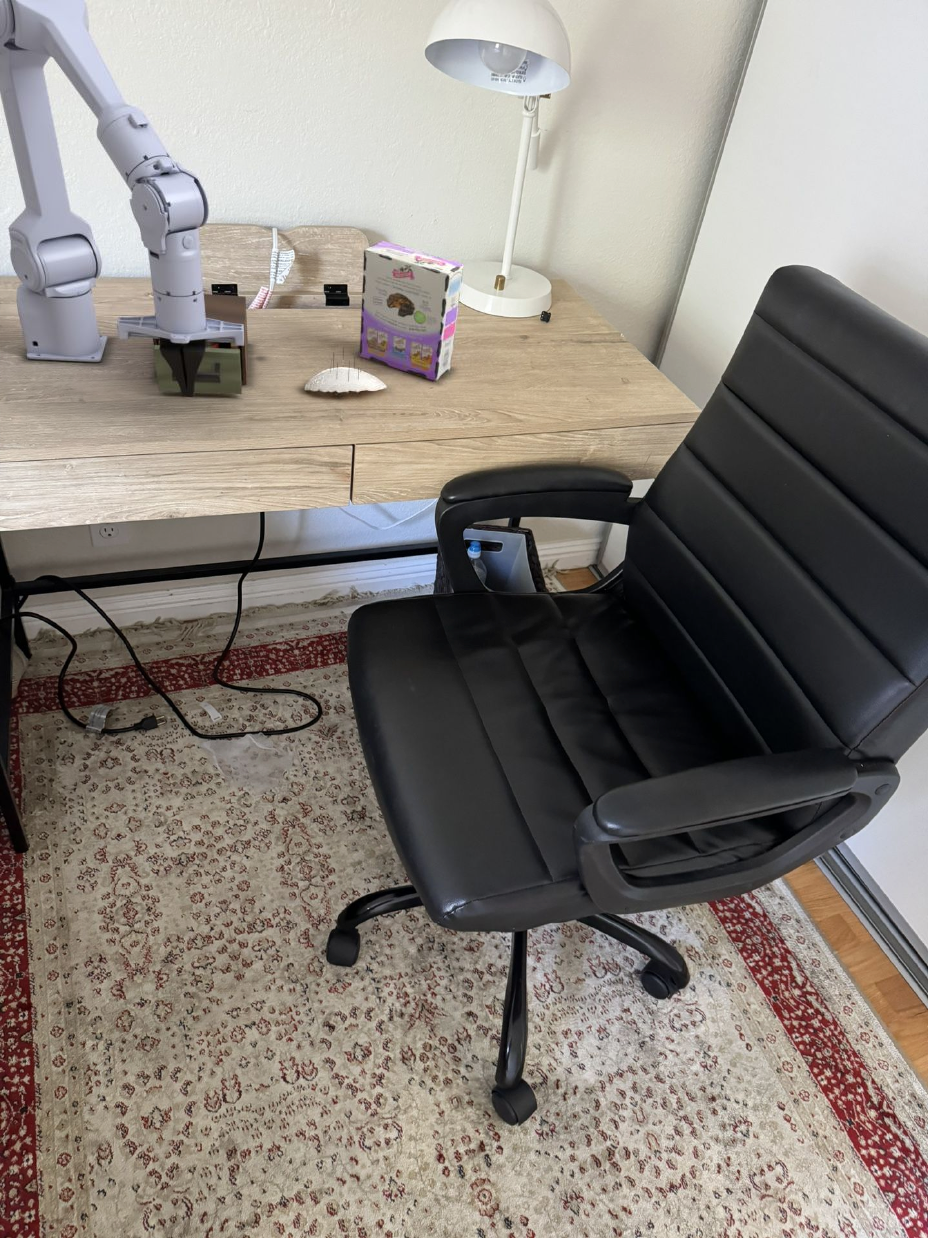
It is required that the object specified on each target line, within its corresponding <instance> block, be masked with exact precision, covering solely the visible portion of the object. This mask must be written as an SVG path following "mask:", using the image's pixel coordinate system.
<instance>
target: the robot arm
mask: <svg viewBox="0 0 928 1238" xmlns="http://www.w3.org/2000/svg"><path fill="white" fill-rule="evenodd" d="M89 21H90V19H89V13H88V6H87V2H86V0H0V99H1V104H2V108H3V112H4V116H5V121H6V126H7V129H8V134H9V135H8V136H9V139H10V144H11V147H12V152H13V157H14V161H15V165H16V170H17V174H18V178H19V183H20V189H21V191H22V196H23V200H24V205H25V208H24V209H23V211H21V213H20V214H19V215H18V216H17V217H16V218H15V219H14V220H13V221H12V222H11V224H10V225H9V226H8V228H7V229H8V232H9V233H8V234H9V241H10V250H9V251H10V252H9V253H10V254H9V255H10V256H9V257H10V261H11V265H12V268H13V270H14V273H15V275H16V277H18V279H19V281H20V282H21V283H20V284H18V286H17V289H16V307H17V314H18V319H19V322H20V326H21V331H22V335H23V339H24V344H25V348H26V358H27V359H28V360H43V361H44V360H45V361H65V362H87V363H100V362H101V361H102V358H103V355H104V352H105V349H106V345H107V342H108V336H107V335H105V334H100V330H99V324H98V319H97V312H96V307H95V302H94V295H93V289H92V288H95V287H96V286H97V283H96V279H98V278H99V277H100V275H101V273H102V268H103V267H102V266H103V261H102V256H101V252H100V250H99V247H98V245H97V243H96V241H95V238H94V235H93V230H92V227H91V225H90V223H89V222H87V220H85V218H82V217H81V216H80V215H79V214H77V213H75V212H73V211H72V210H71V206H70V200H69V196H68V195H69V194H68V190H67V185H66V179H65V173H64V169H63V164H62V159H61V154H60V150H59V149H60V148H59V143H58V138H57V134H56V127H55V122H54V118H53V112H52V107H51V102H50V97H49V92H48V86H47V82H46V76H45V71H44V67H45V65H46V64H47V62H48V61H49V60H50V58H52V59H53V60H54V62H55V63H56V64H57V66H58V67H59V69H60V70H61V71H62V73H63V74H64V75H65V76H66V78H67V80H68V81H69V82H70V83H71V85H72V87H74V89H75V90H76V91H77V93H78V94H79V96H80V97H81V98H82V99H83V101H84V102H85V103H86V105H87V106H88V108H89V110H91V111H92V113H93V115H94V116H95V118H96V119H97V127H96V138H97V140H98V142H99V144H100V145H101V146H102V148H103V149H104V151H105V152H106V154H107V155H108V157H109V159H110V160H111V162H112V163H113V165H114V167H115V169H116V170H117V171H118V173H119V174H120V176H121V178H122V179H123V181H124V182H125V184H126V186H127V187H128V189H129V190H130V192H131V198H129V204H130V209H131V212H132V215H133V217H134V219H135V221H136V223H137V225H138V229H139V231H140V239H141V242H142V245H143V247H144V248H146V249H147V255H148V263H149V271H150V272H149V273H150V279H151V288H152V296H153V305H154V314H152V315H142V316H118V318H117V321H116V328H117V334H118V339H119V340H129V339H130V338H140V339H152V338H156V339H160V347H159V349H160V352H161V354H162V356H163V357H164V359H165V360H166V362H167V363H168V365H169V366H170V368H171V369H172V371H173V373H174V375H175V377H176V379H177V381H178V384H179V386H180V389H181V392H180V393H181V396H182V398H194V397H195V392H194V391H195V389H194V385H195V378H196V375H197V371H198V368H199V366H200V363H201V361H202V359H203V356H204V354H205V348H206V341H211V342H229V343H235V345H241V346H244V325H243V324H235V323H229V322H224V321H219V320H214V319H209V318H206V316H205V303H204V294H205V292H204V280H203V279H204V278H203V265H202V254H201V241H200V229H199V228H203V227H204V226H206V224H207V221H208V220H209V215H210V213H209V212H210V207H209V200H208V197H207V193H206V191H205V188H204V186H203V185H202V183H201V180H200V179H199V177H198V176H197V175H196V174H195V173H194V172H192V171H191V170H188V169H186V168H185V167H184V165H182V163H180V162H178V161H174V160H173V158H172V156H171V154H170V153H169V151H168V150H167V148H166V146H165V144H164V143H163V142H162V140H161V138H160V137H159V135H158V133H157V132H156V130H155V128H154V127H153V125H152V124H151V122H150V121H149V119H148V117H147V116H146V114H145V113H144V111H143V110H142V109H140V108H139V107H136V106H133V105H130V104H127V102H126V101H125V99H124V96H123V95H122V93H121V91H120V90H119V89H120V88H119V87H118V85H117V83H116V82H115V80H114V78H113V76H112V74H111V72H110V71H109V68H108V66H107V65H106V63H105V61H104V58H103V57H102V55H101V53H100V51H99V50H98V47H97V46H96V44H95V42H94V40H93V38H92V36H91V34H90V31H89V30H90V29H89V28H90V22H89ZM155 314H156V315H155ZM184 343H185V344H184Z"/></svg>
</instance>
